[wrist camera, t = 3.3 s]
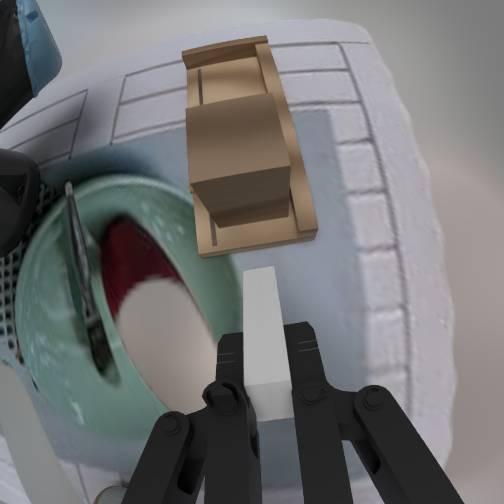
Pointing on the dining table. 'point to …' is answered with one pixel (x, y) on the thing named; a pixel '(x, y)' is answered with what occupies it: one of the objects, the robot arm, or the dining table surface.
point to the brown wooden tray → (266, 81)
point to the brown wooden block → (239, 160)
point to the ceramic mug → (111, 495)
